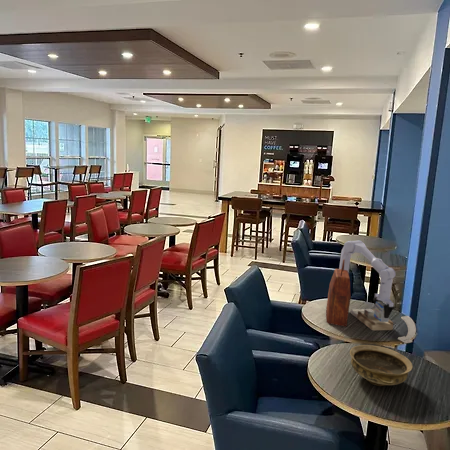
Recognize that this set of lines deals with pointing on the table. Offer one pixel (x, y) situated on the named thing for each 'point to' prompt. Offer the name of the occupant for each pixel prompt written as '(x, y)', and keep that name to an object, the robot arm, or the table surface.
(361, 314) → the sweep station
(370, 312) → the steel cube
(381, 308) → the medicine box
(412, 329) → the headphone stand
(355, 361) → the ceramic bowl
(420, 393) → the table surface
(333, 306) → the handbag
